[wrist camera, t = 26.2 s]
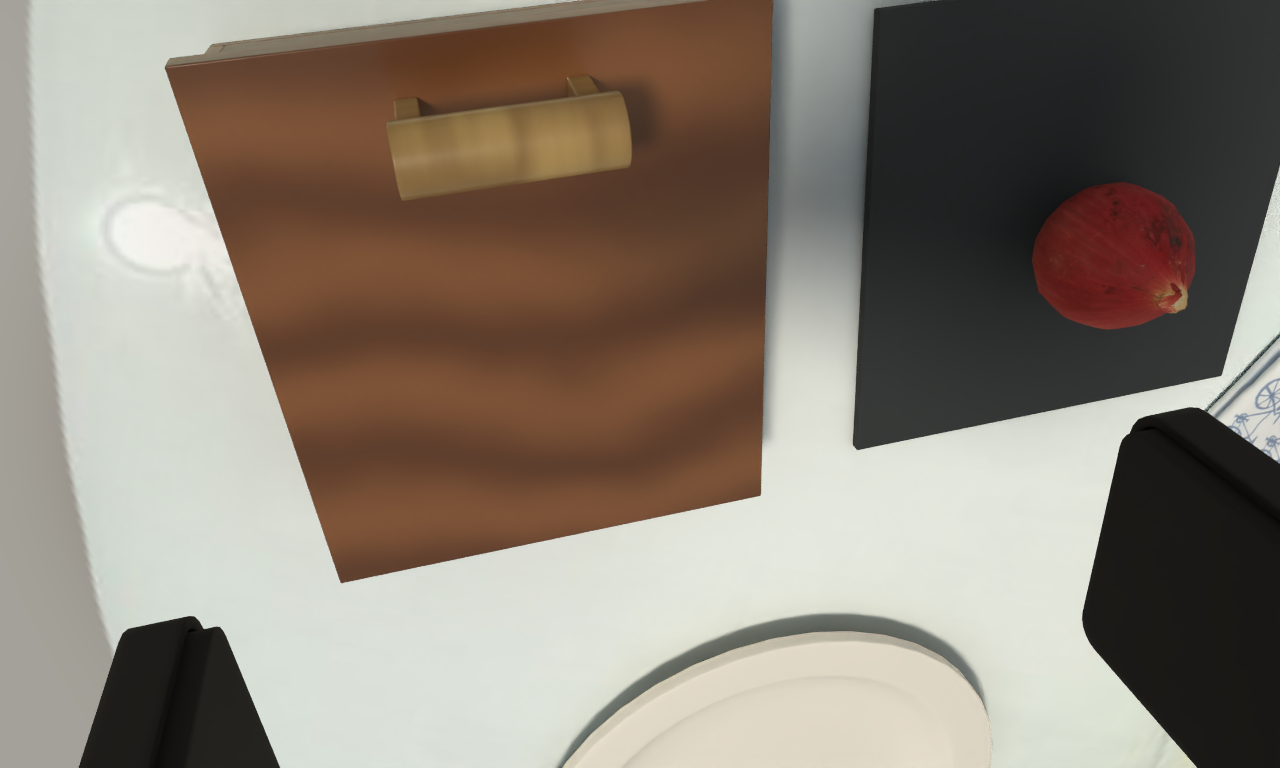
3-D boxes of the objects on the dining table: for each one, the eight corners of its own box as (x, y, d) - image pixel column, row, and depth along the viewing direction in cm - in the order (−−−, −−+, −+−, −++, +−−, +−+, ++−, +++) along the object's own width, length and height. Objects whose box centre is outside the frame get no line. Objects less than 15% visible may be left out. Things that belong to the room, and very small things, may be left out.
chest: (210, 44, 32) (187, 73, 28) (706, -15, 34) (747, 5, 31) (344, 500, 41) (341, 568, 38) (722, 427, 44) (754, 483, 40)
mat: (874, 8, 36) (879, 10, 36) (1329, -50, 39) (1339, -48, 39) (852, 445, 46) (856, 450, 46) (1214, 371, 50) (1221, 376, 49)
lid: (169, 57, 26) (129, 129, 22) (764, -14, 29) (838, 36, 24) (340, 569, 38) (338, 684, 33) (754, 483, 40) (804, 579, 36)
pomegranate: (1041, 143, 40) (1175, 206, 33) (1140, 182, 42) (1285, 249, 35) (973, 268, 42) (1085, 351, 36) (1070, 299, 44) (1194, 383, 38)
